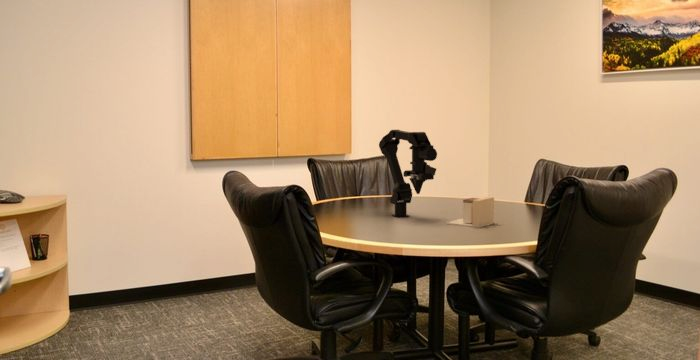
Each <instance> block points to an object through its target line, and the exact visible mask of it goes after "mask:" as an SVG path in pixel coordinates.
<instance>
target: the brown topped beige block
mask: <svg viewBox="0 0 700 360" xmlns="http://www.w3.org/2000/svg"><path fill="white" fill-rule="evenodd" d="M476 199H480V198H479V197H470V198H465V199H462V203H463V205H462V211H463V212H462V219H463V222H464V223H472V215H473V200H476Z"/></svg>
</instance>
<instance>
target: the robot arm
mask: <svg viewBox="0 0 700 360" xmlns="http://www.w3.org/2000/svg"><path fill="white" fill-rule="evenodd" d="M400 141H407V142H408V143H409V144H410V145H411V146H410V147H409V148H408V149H409V150H411V161H409V163H410V165H411V169H410V170H408V169H407V170H404V171H403V172H402V169H401V166H400V163H399V159H398V156H397V153H398V148H399V145H400V143H401V142H400ZM378 147H379V149H380V152H381V154H382V155H383V156H384V157H385V158H386V160H387V164H388V167H389V171H390V173H391V177H392V180H393V181H392V182H393V188H392V195H391V196H390V199H389V202H390V204H394V213H392V214H391V216H393V217H396V218H403V217H410V215H409V214H407V211H408V210H407V205H408V204H411V202H412V198H413V192H412V191H413V189H412V188H411V184H412V186H413V188H414V191H415V193H416V194H417V195H420V193H421V191H422V187H423V184H424V183H425V182H426V181H429V180H430V181H431V180H434V178H435V177H434V176H436V171H437V168H436V167H432V166H431V165H430V164H428V163H427V161H428V162H432V161H435V160H436V159H437V158H438V152H437V149H435V147H434V145H432V144H431V142H430V140H429V137H428V135H427V133H426V132H425V131H404V130H400V129H390V130H389V131H388V133H387V134H385V135H384V136H383V137H381V140H380V141H379V143H378ZM404 177H405V178H407V177H409V179H408V180H410V183H409V182H406V181H405V179H404Z"/></svg>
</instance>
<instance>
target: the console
mask: <svg viewBox="0 0 700 360" xmlns="http://www.w3.org/2000/svg"><path fill="white" fill-rule="evenodd" d="M494 217H495V197H494V196H486V197H481V198H480V199H476V200H473V215H472V223H464V222H463V218H457V219H455V220H450V221H446V222H445V224H446V225H451V226H459V227H468V228H475V229H477V228H478V229H479V228H483V227H486V226H489V225H493V224H495V222H494V221H495V220H494V219H495V218H494Z"/></svg>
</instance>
